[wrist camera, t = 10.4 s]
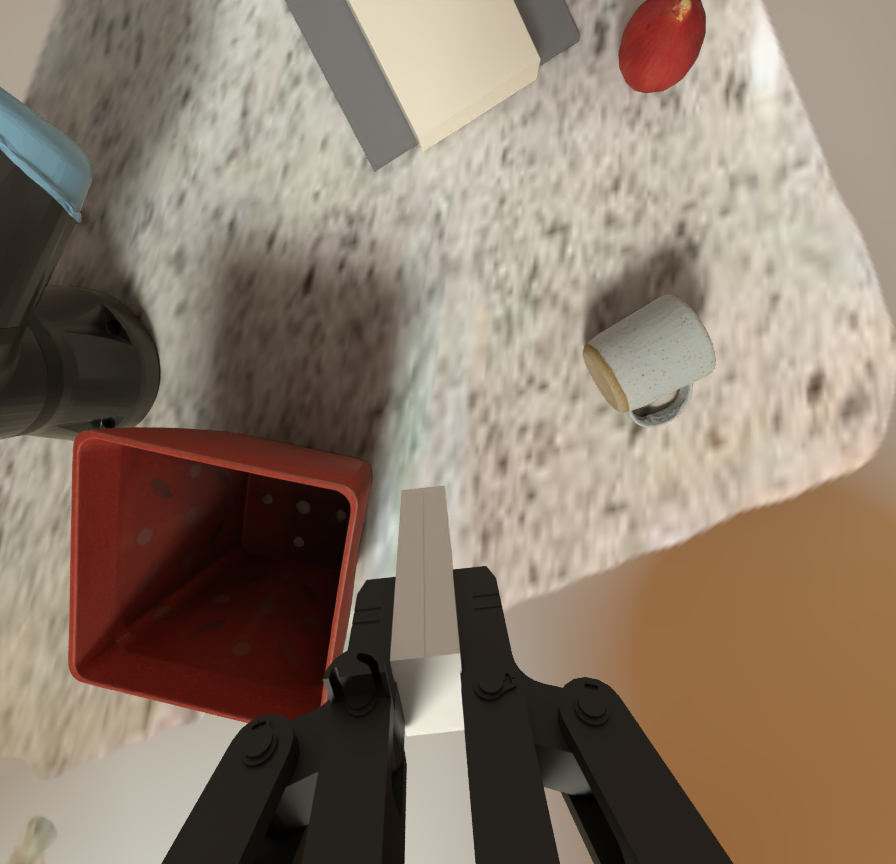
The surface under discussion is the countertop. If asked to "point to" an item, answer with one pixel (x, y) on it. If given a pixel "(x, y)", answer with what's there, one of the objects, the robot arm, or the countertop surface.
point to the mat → (363, 83)
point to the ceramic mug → (651, 359)
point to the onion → (661, 43)
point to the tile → (447, 58)
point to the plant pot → (211, 568)
